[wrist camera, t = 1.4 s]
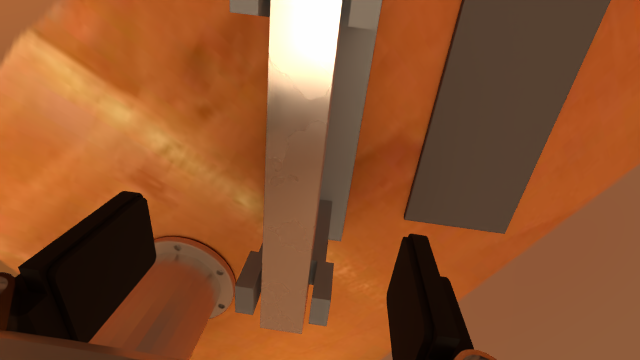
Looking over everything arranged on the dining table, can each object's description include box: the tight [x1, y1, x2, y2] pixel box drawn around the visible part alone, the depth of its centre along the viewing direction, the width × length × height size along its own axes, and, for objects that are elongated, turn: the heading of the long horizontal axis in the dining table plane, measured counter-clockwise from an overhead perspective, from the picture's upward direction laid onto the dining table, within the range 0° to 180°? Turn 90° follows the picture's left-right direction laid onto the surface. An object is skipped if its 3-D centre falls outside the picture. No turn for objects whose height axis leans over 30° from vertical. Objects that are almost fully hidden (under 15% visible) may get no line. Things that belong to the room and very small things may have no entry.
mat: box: [404, 0, 611, 234], centre depth 26 cm, size 25×10×1 cm, turn 174°
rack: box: [230, 0, 382, 326], centre depth 23 cm, size 25×8×14 cm, turn 174°
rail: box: [260, 0, 344, 334], centre depth 18 cm, size 24×3×3 cm, turn 174°
